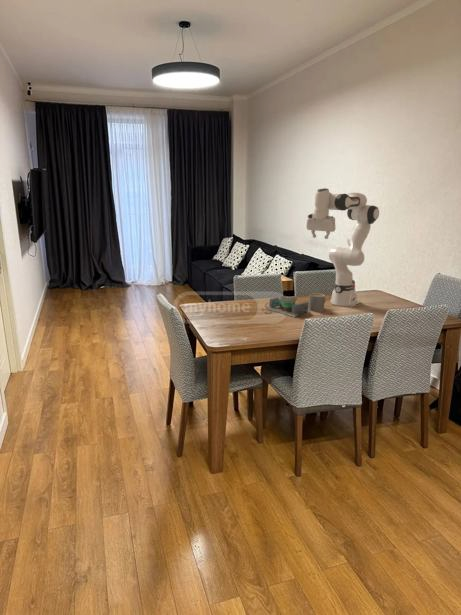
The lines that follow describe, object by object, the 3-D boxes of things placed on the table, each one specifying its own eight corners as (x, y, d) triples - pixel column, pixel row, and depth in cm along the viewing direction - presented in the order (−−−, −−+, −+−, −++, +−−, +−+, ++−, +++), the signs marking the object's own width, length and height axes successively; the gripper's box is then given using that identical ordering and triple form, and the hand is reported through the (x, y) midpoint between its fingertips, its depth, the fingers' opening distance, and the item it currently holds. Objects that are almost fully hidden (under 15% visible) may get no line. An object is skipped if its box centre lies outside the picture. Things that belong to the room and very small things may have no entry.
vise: (282, 305, 302) (283, 295, 300) (310, 312, 286) (310, 302, 284) (267, 309, 291) (267, 298, 289) (294, 317, 275) (295, 306, 274)
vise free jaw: (283, 303, 300) (283, 295, 299) (286, 304, 298) (286, 296, 297) (269, 306, 291) (269, 298, 289) (272, 307, 289) (273, 299, 288)
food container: (279, 313, 283) (280, 298, 280) (277, 310, 289) (278, 295, 286) (298, 312, 285) (299, 298, 282) (295, 310, 291) (296, 295, 288)
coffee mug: (315, 312, 287) (316, 297, 284) (305, 308, 295) (306, 294, 293) (330, 310, 294) (332, 295, 291) (320, 306, 302) (322, 292, 299)
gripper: (338, 216, 267) (337, 239, 270) (311, 214, 282) (310, 236, 285) (331, 216, 263) (330, 239, 266) (305, 215, 278) (304, 237, 281)
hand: (320, 238), depth 276 cm, fingers open, 8 cm apart
